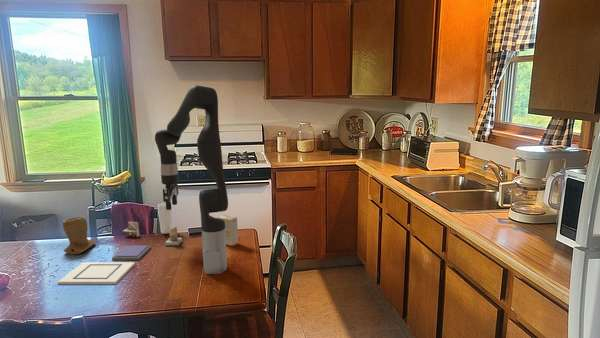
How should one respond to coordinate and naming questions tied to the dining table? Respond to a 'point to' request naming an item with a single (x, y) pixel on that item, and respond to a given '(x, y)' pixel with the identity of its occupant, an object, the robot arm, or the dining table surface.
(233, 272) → the dining table surface
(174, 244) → the stamp
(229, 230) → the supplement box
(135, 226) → the architectural model
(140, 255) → the pad
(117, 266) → the marking board
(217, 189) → the robot arm
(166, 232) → the tall white block
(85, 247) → the brown bookend
